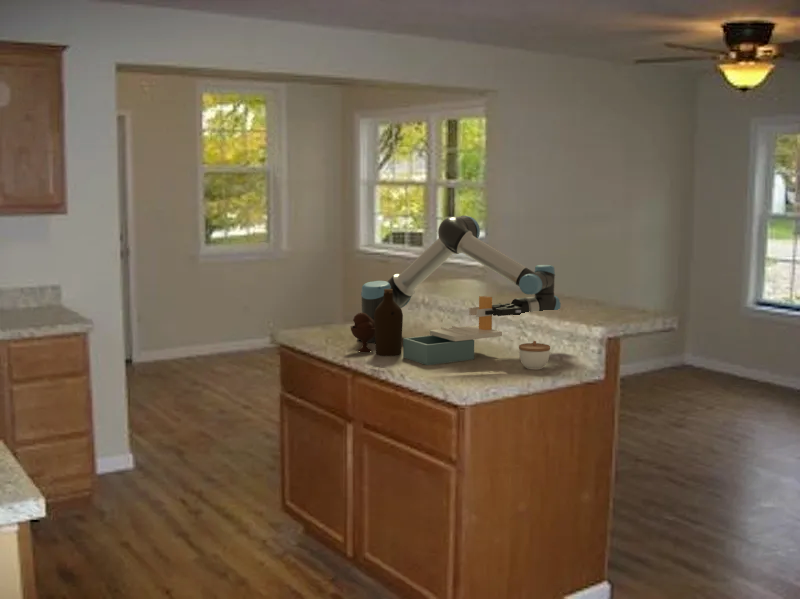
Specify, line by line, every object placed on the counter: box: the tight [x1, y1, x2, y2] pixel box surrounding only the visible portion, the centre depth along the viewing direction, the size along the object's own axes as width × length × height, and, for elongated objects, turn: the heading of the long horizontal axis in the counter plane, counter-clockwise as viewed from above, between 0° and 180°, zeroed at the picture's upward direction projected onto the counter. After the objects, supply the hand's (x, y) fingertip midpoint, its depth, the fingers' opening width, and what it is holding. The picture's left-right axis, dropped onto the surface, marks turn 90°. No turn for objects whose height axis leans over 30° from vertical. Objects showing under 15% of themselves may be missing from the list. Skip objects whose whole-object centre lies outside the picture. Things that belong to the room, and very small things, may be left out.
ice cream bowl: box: [350, 312, 375, 353], centre depth 341 cm, size 11×11×15 cm
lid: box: [429, 295, 503, 341], centre depth 327 cm, size 17×21×14 cm
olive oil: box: [374, 289, 404, 357], centre depth 330 cm, size 11×11×25 cm
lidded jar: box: [518, 340, 551, 371], centre depth 310 cm, size 11×11×9 cm
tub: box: [402, 334, 475, 366], centre depth 323 cm, size 16×20×8 cm
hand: (473, 312), depth 329 cm, fingers closed on lid, 4 cm apart
